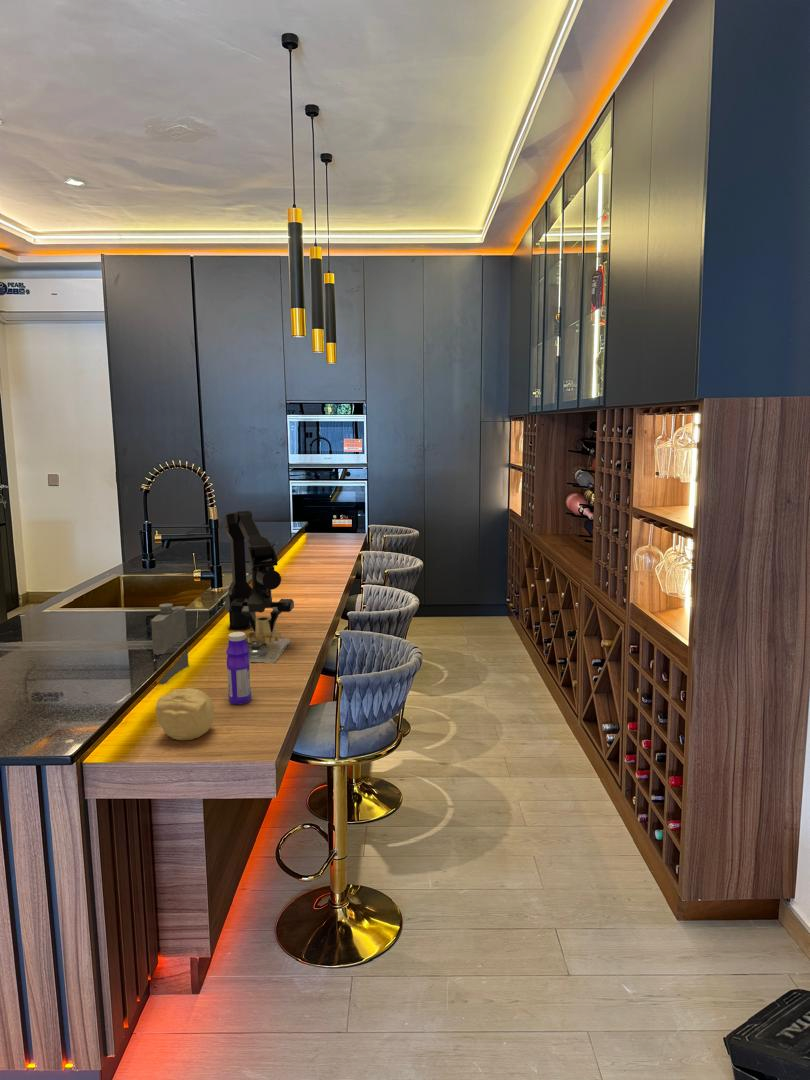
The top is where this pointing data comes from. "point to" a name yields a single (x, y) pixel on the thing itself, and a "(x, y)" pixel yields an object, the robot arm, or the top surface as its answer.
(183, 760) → the top surface
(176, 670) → the hip flask
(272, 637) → the gear
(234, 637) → the bottle
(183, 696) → the sculpture
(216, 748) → the top surface
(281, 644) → the carrier plate
